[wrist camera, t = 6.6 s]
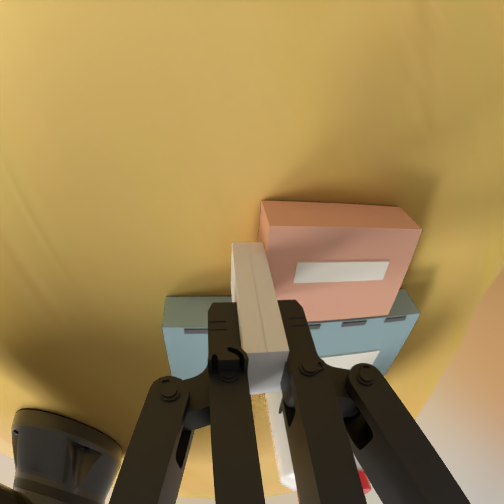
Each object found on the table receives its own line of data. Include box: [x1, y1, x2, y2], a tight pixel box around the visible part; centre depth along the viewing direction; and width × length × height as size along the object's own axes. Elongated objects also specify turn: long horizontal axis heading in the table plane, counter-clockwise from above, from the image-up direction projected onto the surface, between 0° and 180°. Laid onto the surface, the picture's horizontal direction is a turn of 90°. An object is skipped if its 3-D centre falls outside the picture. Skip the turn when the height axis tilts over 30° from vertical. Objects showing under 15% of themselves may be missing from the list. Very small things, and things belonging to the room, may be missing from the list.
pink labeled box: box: [258, 201, 422, 322], centre depth 17 cm, size 8×6×3 cm
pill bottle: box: [265, 390, 371, 504], centre depth 22 cm, size 8×8×11 cm
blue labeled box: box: [162, 289, 420, 390], centre depth 21 cm, size 16×7×3 cm, turn 85°
